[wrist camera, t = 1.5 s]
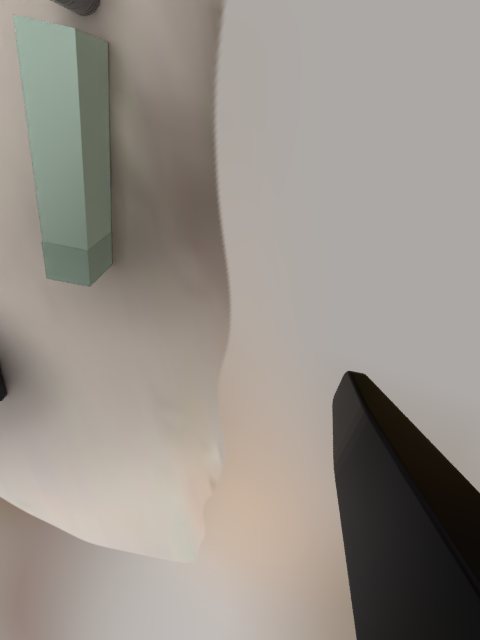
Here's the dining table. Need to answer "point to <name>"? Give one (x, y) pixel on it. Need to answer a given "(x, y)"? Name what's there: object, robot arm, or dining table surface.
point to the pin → (79, 5)
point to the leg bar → (68, 145)
